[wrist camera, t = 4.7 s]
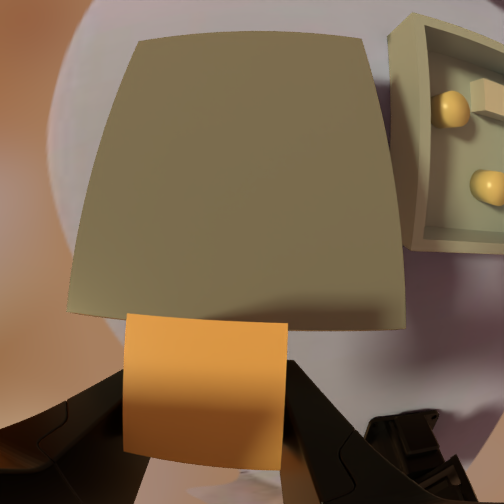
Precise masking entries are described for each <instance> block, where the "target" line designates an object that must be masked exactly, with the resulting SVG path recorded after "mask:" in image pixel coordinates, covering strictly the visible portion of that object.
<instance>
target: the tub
mask: <svg viewBox="0 0 504 504" xmlns="http://www.w3.org/2000/svg"><path fill="white" fill-rule="evenodd" d="M387 40H388V53H389V70H390V102H391V134H390V157H391V162H392V168H393V174H394V181H395V187H396V195H397V202H398V210H399V218H400V227H401V237H402V245H403V246H405V247H406V248H407V249H409V250H410V251H426V252H453V253H479V254H503V255H504V45H503V44H501V43H499V42H497V41H494V40H492V39H490V38H487V37H485V36H482V35H480V34H477V33H475V32H472V31H470V30H467V29H464V28H462V27H459V26H456V25H453V24H450V23H447V22H444V21H441V20H438V19H434V18H431V17H427V16H424V15H420V14H417V13H413V12H412V13H411V14H410V15H409V16H408V17H407V18H406V19H405V20H404V21H403V22H402V23H401V24H400V25H398V26H397V27H396V28H395V29H394V30H393V31H392V32H391V33H390V34H389V35H388V36H387Z"/></svg>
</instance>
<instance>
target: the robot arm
mask: <svg viewBox="0 0 504 504" xmlns="http://www.w3.org/2000/svg"><path fill="white" fill-rule="evenodd" d="M123 371H124V369H122V370H121V371H119V372H117V373H115V374H113V375H112V376H110V377H108V378H106V379H104V380H103V381H101V382H99V383H97V384H95V385H94V386H92V387H90V388H88V389H86V390H84V391H82V392H80V393H79V394H77V395H75V396H73V397H71V398H69V399H68V400H67V401H64V402H62V403H60V404H58V405H56V406H54V407H52V408H50V409H48V410H46V411H44V412H42V413H40V414H37V415H35V416H33V417H30V418H28V419H26V420H23V421H21V422H18V423H15V424H13V425H10V426H7V427H5V428H2V429H0V504H134V501H135V499H136V496H137V493H138V490H139V488H140V485H141V482H142V479H143V476H144V474H145V471H146V468H147V466H148V463H149V460H150V458H151V457H147V456H142V455H137V454H133V453H128V452H124V450H123ZM438 417H439V413H438V411H437V410H433V411H426V412H420V413H413V414H406V415H398V416H390V417H380V418H374V419H372V420H370V422H369V424H368V427H367V430H366V432H365V435H364V438H363V437H362V436H361V435H360V434H359V432H358V431H357V430H355V428H354V427H353V426H352V425H351V424H350V423H349V422H348V421H347V419H346V418H345V417H344V416H343V415H342V414H341V413H340V412H339V411H338V410H337V408H336V407H335V406H334V405H333V404H332V403H331V402H330V401H329V400H328V398H327V397H326V396H325V395H324V394H323V393H322V392H321V391H320V389H319V388H318V387H317V386H316V385H315V384H314V383H313V381H312V380H311V379H310V378H309V377H308V376H307V375H306V374H305V372H304V371H303V370H302V369H301V368H300V367H299V366H298V364H297V363H296V362H295V361H294V360H287V364H286V386H285V406H284V423H283V439H282V454H281V468H280V478H281V486H282V494H283V503H284V504H504V503H492V502H490V503H489V502H479V501H478V499H477V496H476V494H475V492H474V490H473V487H472V485H471V483H470V481H469V479H468V477H467V475H466V472H465V470H464V468H463V466H462V464H461V462H460V460H459V458H458V457H457V455H456V454H455V455H454V456H452V457H451V458H450V459H449V460H448V461H446V462H445V461H444V458H443V456H442V454H441V452H440V450H439V444H438V442H437V440H436V438H435V436H434V433H433V431H432V429H433V427H434V425H435V423H436V421H437V419H438ZM458 484H459V485H458Z"/></svg>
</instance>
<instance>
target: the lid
mask: <svg viewBox="0 0 504 504" xmlns="http://www.w3.org/2000/svg"><path fill="white" fill-rule="evenodd" d="M66 312H70V313H75V314H80V315H88V316H94V317H102V318H111V319H119V320H126V333H125V349H124V371H123V450H124V452H128V453H133V454H137V455H142V456H147V457H152V458H157V459H163V460H169V461H175V462H181V463H188V464H196V465H203V466H212V467H223V468H235V469H251V470H280V468H281V454H282V439H283V423H284V406H285V386H286V364H287V338H288V331H380V330H399V329H406V303H405V278H404V262H403V249H402V237H401V227H400V218H399V210H398V202H397V195H396V187H395V181H394V174H393V168H392V162H391V157H390V151H389V146H388V141H387V136H386V131H385V126H384V121H383V117H382V112H381V108H380V104H379V100H378V96H377V92H376V88H375V84H374V80H373V76H372V73H371V69H370V66H369V62H368V59H367V55H366V52H365V49H364V46H363V42H362V39H359V38H352V37H344V36H335V35H326V34H315V33H300V32H278V31H238V32H215V33H201V34H190V35H180V36H172V37H164V38H157V39H150V40H144V41H139V42H138V44H137V46H136V49H135V51H134V53H133V55H132V58H131V60H130V62H129V65H128V67H127V69H126V72H125V74H124V77H123V79H122V82H121V84H120V87H119V90H118V92H117V95H116V97H115V100H114V103H113V106H112V109H111V111H110V114H109V117H108V120H107V123H106V126H105V129H104V132H103V135H102V139H101V142H100V145H99V148H98V152H97V155H96V159H95V162H94V166H93V169H92V173H91V177H90V181H89V185H88V189H87V193H86V197H85V201H84V206H83V210H82V215H81V219H80V224H79V229H78V234H77V240H76V245H75V251H74V257H73V263H72V271H71V277H70V285H69V293H68V302H67V311H66Z"/></svg>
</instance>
